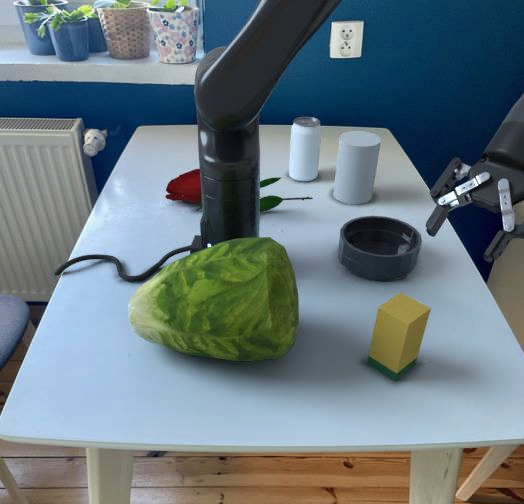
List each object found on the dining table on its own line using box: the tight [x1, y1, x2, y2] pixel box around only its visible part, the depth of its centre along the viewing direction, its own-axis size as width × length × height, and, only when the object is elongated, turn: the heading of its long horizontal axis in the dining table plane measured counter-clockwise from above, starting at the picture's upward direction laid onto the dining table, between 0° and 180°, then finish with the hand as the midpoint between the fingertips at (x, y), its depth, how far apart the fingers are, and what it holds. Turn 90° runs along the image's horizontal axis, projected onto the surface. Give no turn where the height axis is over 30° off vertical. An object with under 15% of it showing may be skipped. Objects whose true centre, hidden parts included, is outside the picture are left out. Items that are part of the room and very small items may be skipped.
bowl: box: [337, 215, 423, 282], centre depth 94 cm, size 14×14×5 cm
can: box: [288, 116, 322, 183], centre depth 117 cm, size 6×6×12 cm
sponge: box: [366, 292, 432, 382], centre depth 72 cm, size 5×5×10 cm
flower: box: [164, 168, 314, 213], centre depth 106 cm, size 9×10×30 cm
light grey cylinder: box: [333, 130, 382, 205], centre depth 110 cm, size 8×8×12 cm
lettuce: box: [127, 236, 300, 362], centre depth 73 cm, size 17×23×16 cm
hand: (457, 246), depth 71 cm, fingers open, 8 cm apart
